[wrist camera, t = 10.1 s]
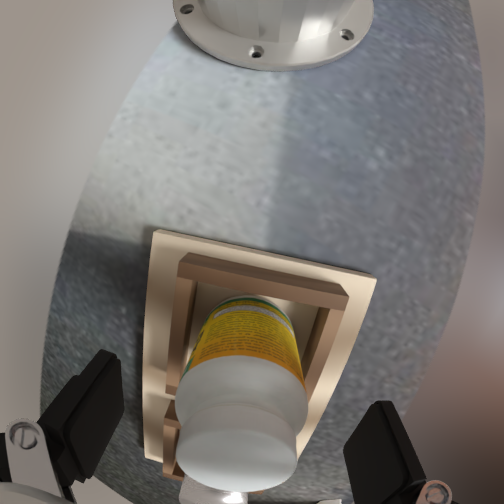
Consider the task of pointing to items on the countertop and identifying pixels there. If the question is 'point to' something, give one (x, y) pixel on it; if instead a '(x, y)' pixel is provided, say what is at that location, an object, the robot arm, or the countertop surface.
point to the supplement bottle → (241, 398)
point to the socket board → (230, 285)
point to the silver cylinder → (208, 494)
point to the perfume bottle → (330, 501)
